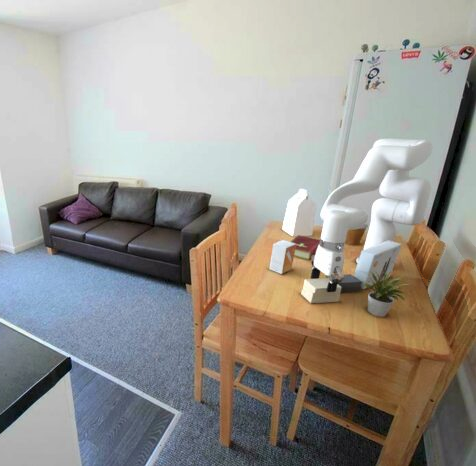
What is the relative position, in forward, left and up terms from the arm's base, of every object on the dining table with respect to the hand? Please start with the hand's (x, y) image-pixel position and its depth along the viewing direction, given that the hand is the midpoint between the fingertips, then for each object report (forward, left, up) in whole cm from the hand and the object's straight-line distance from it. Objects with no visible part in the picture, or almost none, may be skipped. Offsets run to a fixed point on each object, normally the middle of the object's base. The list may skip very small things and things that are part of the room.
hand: (322, 284), depth 119 cm
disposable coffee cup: (-50, -49, -6) cm, 70 cm away
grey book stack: (-13, -6, -6) cm, 15 cm away
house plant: (-13, +11, -6) cm, 18 cm away
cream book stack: (0, 0, -6) cm, 6 cm away
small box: (+3, -24, -6) cm, 25 cm away
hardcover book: (-19, -43, -6) cm, 47 cm away
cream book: (0, 0, -1) cm, 1 cm away
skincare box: (-29, -10, -6) cm, 31 cm away
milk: (-30, -68, -6) cm, 75 cm away
